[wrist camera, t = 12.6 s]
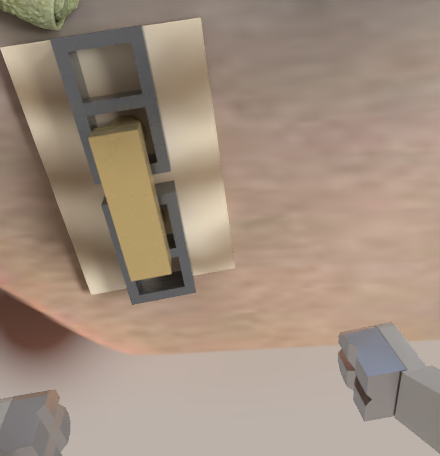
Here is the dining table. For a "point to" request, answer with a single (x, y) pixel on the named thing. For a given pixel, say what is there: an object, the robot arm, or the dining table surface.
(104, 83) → the chain board
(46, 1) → the washcloth
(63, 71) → the chain ends
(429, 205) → the dining table surface
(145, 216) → the tan bar
